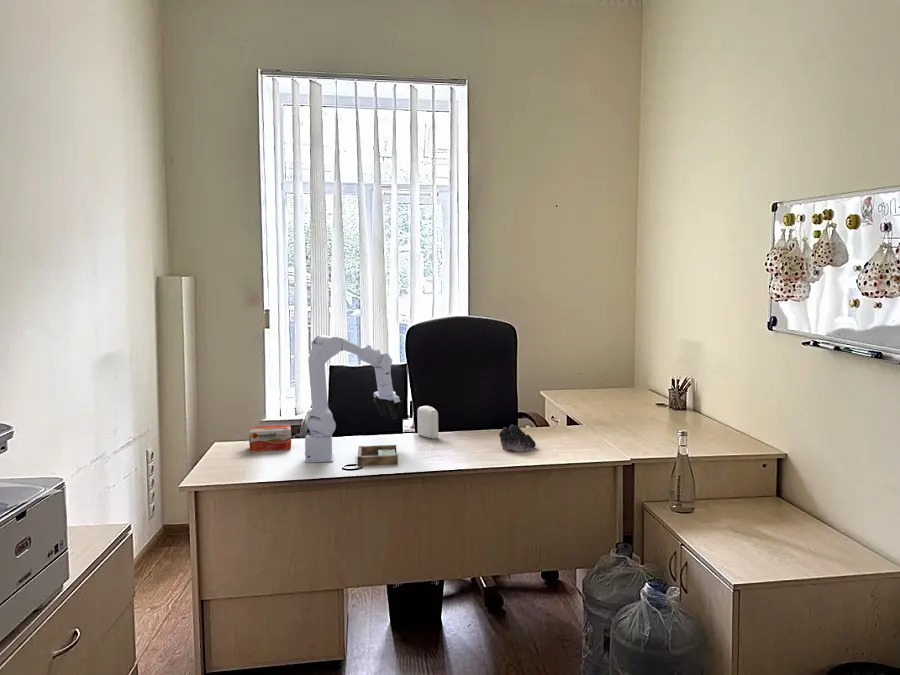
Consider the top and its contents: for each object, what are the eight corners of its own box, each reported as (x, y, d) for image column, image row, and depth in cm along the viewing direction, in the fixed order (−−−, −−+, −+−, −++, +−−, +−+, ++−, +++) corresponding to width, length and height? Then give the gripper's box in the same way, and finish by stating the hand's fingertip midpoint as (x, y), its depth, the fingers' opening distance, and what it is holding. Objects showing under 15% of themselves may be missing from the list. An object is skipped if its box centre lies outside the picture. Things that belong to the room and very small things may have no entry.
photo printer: (415, 434, 285) (415, 405, 284) (424, 433, 287) (424, 403, 286) (431, 439, 277) (431, 408, 276) (439, 437, 280) (439, 407, 278)
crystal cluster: (536, 446, 269) (534, 420, 269) (536, 452, 255) (534, 425, 255) (501, 448, 270) (499, 422, 270) (499, 454, 257) (497, 427, 257)
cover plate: (379, 464, 243) (379, 457, 243) (378, 456, 254) (378, 449, 254) (396, 463, 244) (396, 456, 243) (394, 455, 255) (394, 449, 254)
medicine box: (249, 452, 259) (248, 431, 258) (251, 447, 267) (250, 426, 266) (291, 450, 262) (290, 429, 262) (291, 444, 270) (291, 424, 270)
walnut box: (357, 465, 240) (357, 457, 240) (358, 454, 255) (358, 446, 255) (397, 464, 241) (397, 455, 241) (396, 452, 257) (396, 444, 256)
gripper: (404, 383, 263) (408, 417, 265) (382, 378, 274) (387, 411, 277) (388, 388, 258) (393, 422, 261) (367, 383, 270) (372, 416, 272)
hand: (389, 417), depth 269 cm, fingers open, 7 cm apart
